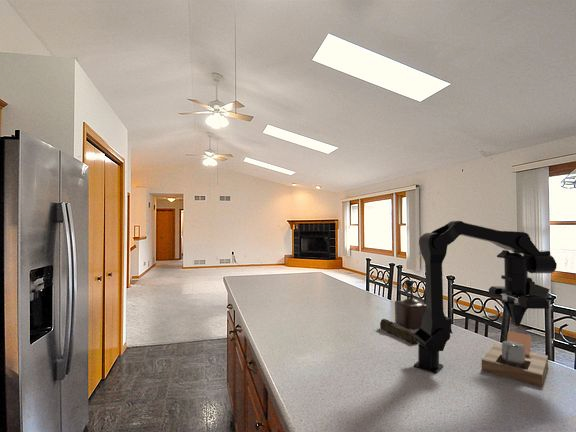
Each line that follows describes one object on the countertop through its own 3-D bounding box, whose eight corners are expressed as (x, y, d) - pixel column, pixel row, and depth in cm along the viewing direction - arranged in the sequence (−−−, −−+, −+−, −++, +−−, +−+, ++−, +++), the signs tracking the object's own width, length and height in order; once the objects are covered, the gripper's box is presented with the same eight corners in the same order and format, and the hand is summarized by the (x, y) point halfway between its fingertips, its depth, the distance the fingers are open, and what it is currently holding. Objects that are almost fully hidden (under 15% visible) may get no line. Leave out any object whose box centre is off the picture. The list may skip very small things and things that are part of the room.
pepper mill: (431, 328, 134) (431, 284, 135) (407, 329, 132) (407, 285, 133) (410, 317, 150) (410, 278, 150) (388, 318, 147) (388, 278, 148)
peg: (523, 378, 90) (523, 349, 90) (500, 372, 94) (500, 344, 94) (526, 372, 94) (526, 344, 94) (503, 366, 98) (503, 339, 98)
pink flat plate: (529, 356, 98) (529, 354, 97) (505, 351, 102) (505, 349, 101) (531, 337, 102) (531, 335, 101) (508, 333, 106) (508, 331, 105)
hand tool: (420, 344, 117) (420, 330, 117) (412, 345, 115) (412, 332, 115) (385, 328, 134) (386, 317, 134) (377, 329, 132) (378, 317, 133)
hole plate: (542, 386, 86) (542, 375, 86) (481, 370, 95) (481, 359, 95) (548, 365, 99) (547, 355, 99) (494, 353, 108) (494, 344, 108)
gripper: (569, 278, 88) (570, 336, 88) (521, 269, 107) (522, 317, 107) (527, 278, 89) (528, 335, 88) (487, 269, 107) (488, 316, 107)
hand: (516, 325), depth 98 cm, fingers closed
